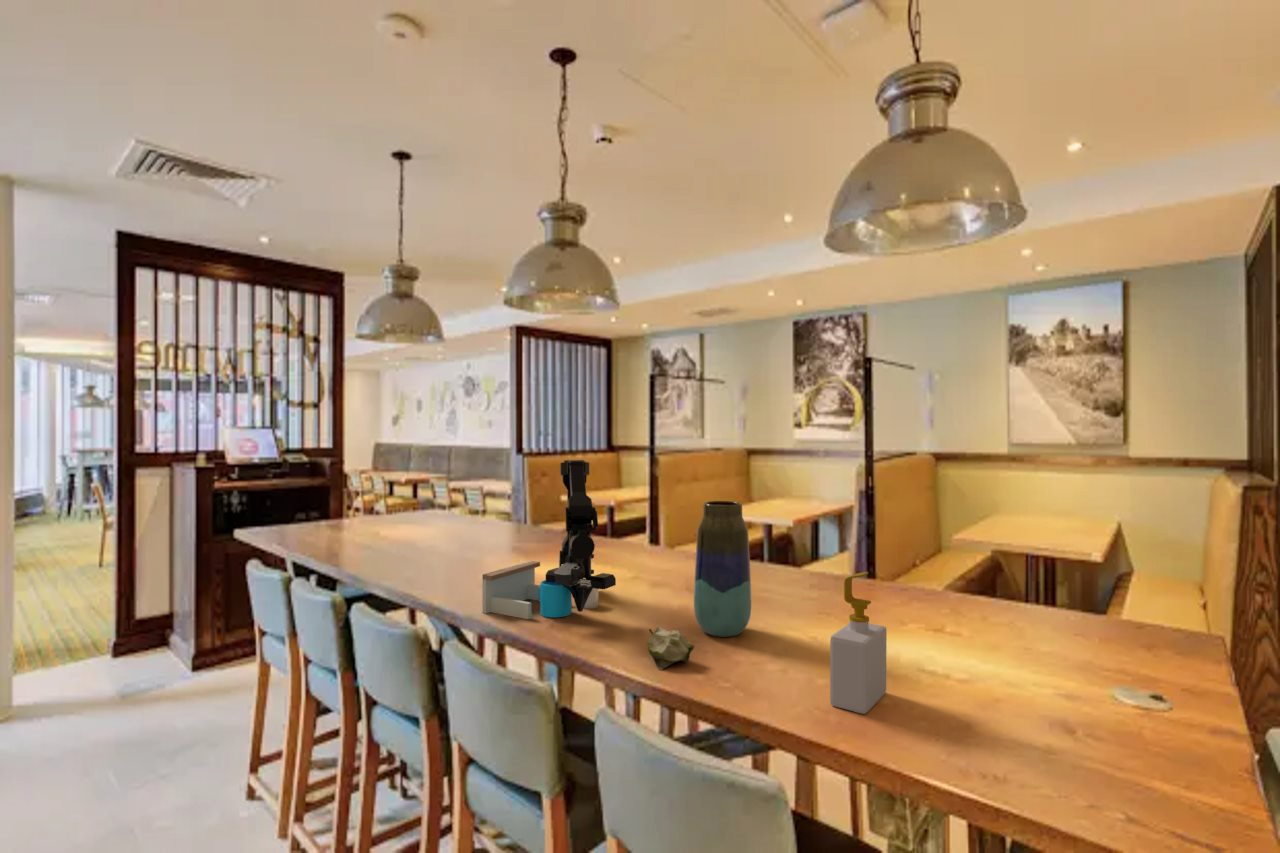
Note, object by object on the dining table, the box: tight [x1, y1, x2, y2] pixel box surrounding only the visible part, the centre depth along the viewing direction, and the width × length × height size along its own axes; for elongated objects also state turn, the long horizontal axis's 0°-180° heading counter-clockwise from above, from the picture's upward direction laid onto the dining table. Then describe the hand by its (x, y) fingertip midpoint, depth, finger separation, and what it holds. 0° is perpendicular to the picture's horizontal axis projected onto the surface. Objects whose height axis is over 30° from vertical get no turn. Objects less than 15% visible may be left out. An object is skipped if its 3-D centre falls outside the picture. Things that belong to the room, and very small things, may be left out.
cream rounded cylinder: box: [583, 588, 599, 610], centre depth 181 cm, size 6×6×5 cm
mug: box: [539, 579, 573, 618], centre depth 175 cm, size 12×8×8 cm
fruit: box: [647, 626, 695, 671], centre depth 139 cm, size 9×9×8 cm
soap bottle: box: [829, 571, 887, 715], centre depth 120 cm, size 12×7×23 cm, turn 143°
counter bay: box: [482, 560, 541, 620], centre depth 179 cm, size 20×14×10 cm
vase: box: [693, 500, 752, 638], centre depth 159 cm, size 14×14×31 cm
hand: (580, 611), depth 170 cm, fingers closed
